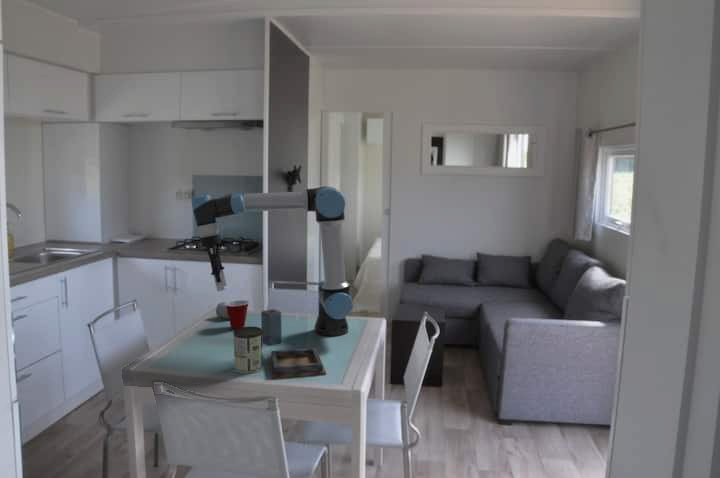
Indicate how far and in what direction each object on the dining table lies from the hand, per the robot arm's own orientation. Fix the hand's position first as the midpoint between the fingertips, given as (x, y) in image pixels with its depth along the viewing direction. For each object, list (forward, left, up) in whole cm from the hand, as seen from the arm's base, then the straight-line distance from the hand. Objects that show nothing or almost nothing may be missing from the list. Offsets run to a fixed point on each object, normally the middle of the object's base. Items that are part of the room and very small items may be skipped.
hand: (222, 288), depth 206 cm
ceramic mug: (-1, -46, -25) cm, 53 cm away
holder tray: (-26, +23, -25) cm, 43 cm away
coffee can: (-9, +21, -25) cm, 34 cm away
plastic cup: (-5, -29, -25) cm, 39 cm away
